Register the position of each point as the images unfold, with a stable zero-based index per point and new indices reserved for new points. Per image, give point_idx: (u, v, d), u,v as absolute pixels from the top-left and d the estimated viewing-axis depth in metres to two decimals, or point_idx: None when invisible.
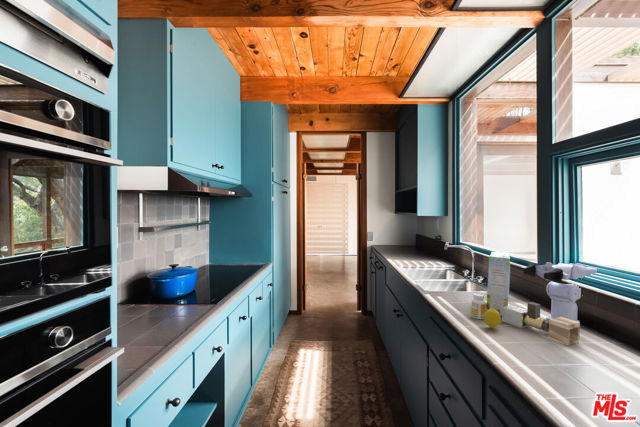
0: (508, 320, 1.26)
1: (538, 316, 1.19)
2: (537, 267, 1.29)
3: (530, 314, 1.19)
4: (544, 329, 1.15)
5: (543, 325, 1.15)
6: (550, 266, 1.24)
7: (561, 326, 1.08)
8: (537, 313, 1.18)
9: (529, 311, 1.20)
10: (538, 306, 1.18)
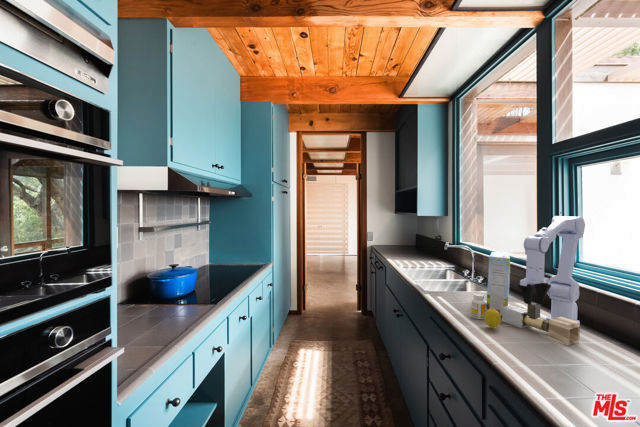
0: (508, 320, 1.26)
1: (538, 316, 1.19)
2: None
3: (530, 314, 1.19)
4: (544, 329, 1.15)
5: (543, 325, 1.15)
6: None
7: (561, 326, 1.08)
8: (537, 313, 1.18)
9: (529, 311, 1.20)
10: (538, 306, 1.18)
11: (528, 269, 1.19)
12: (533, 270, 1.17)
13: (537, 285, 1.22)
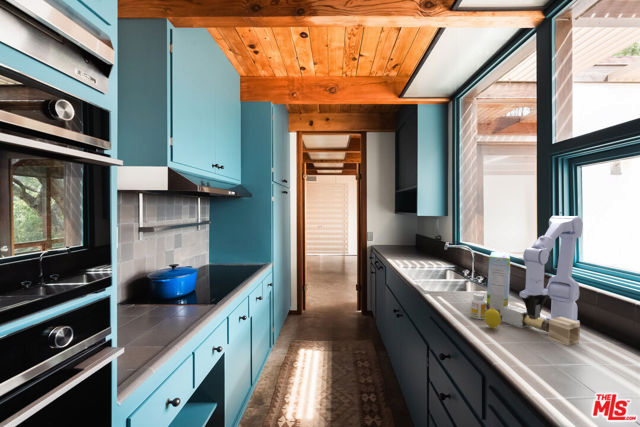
0: (508, 320, 1.26)
1: (538, 316, 1.19)
2: None
3: None
4: (544, 329, 1.15)
5: (543, 325, 1.15)
6: None
7: (561, 326, 1.08)
8: (537, 313, 1.18)
9: None
10: (538, 306, 1.18)
11: (528, 281, 1.19)
12: (533, 282, 1.18)
13: (533, 297, 1.21)
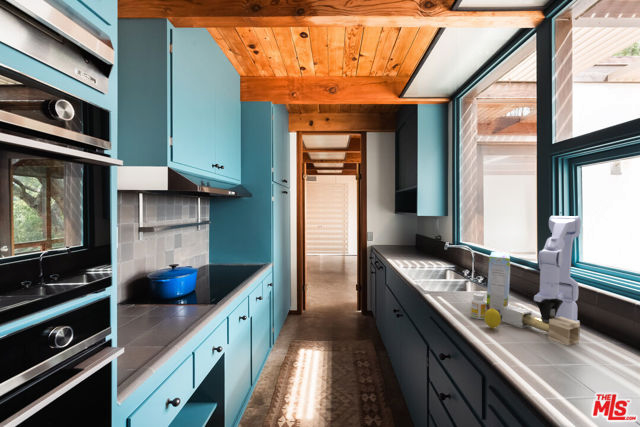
0: (508, 320, 1.26)
1: None
2: None
3: None
4: None
5: None
6: None
7: (561, 326, 1.08)
8: (552, 317, 1.14)
9: None
10: (553, 310, 1.14)
11: (542, 284, 1.14)
12: (547, 285, 1.13)
13: (548, 301, 1.17)
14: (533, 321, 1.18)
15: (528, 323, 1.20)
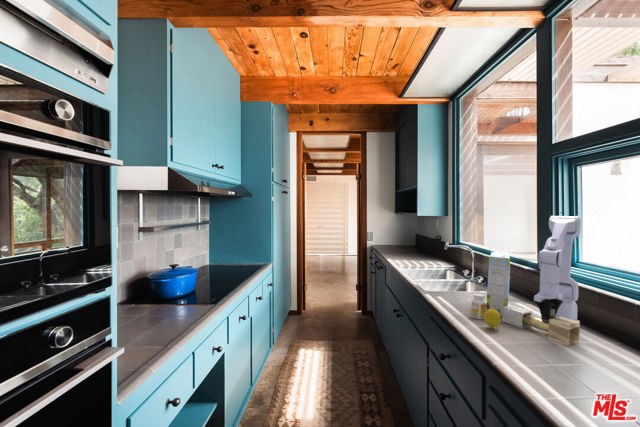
0: (508, 320, 1.26)
1: None
2: None
3: None
4: None
5: None
6: None
7: (561, 326, 1.08)
8: (552, 317, 1.14)
9: None
10: (553, 310, 1.14)
11: (542, 284, 1.14)
12: (547, 285, 1.13)
13: (548, 301, 1.17)
14: (533, 321, 1.18)
15: (528, 323, 1.20)
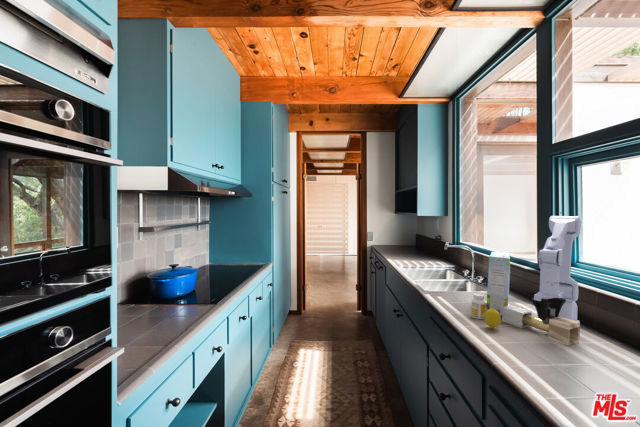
0: (508, 320, 1.26)
1: None
2: None
3: None
4: None
5: None
6: None
7: (561, 326, 1.08)
8: (552, 317, 1.14)
9: None
10: (553, 310, 1.14)
11: (542, 283, 1.14)
12: (547, 284, 1.13)
13: (551, 299, 1.17)
14: (533, 321, 1.18)
15: (528, 323, 1.20)
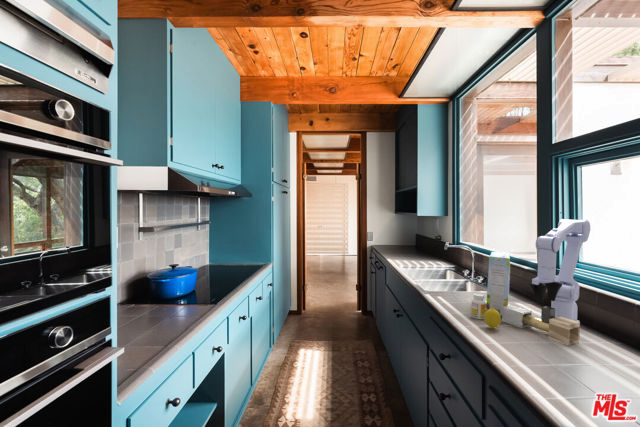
0: (508, 320, 1.26)
1: None
2: None
3: (544, 318, 1.15)
4: None
5: None
6: None
7: (561, 326, 1.08)
8: (552, 317, 1.14)
9: (543, 315, 1.15)
10: (553, 310, 1.14)
11: (540, 268, 1.21)
12: (545, 269, 1.20)
13: (548, 284, 1.24)
14: (533, 321, 1.18)
15: (528, 323, 1.20)
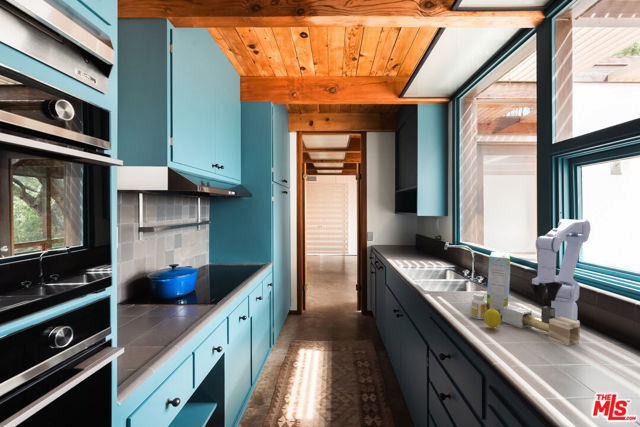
0: (508, 320, 1.26)
1: None
2: None
3: (544, 318, 1.15)
4: None
5: None
6: None
7: (561, 326, 1.08)
8: (552, 317, 1.14)
9: (543, 315, 1.15)
10: (553, 310, 1.14)
11: (540, 268, 1.21)
12: (545, 269, 1.20)
13: (548, 284, 1.24)
14: (533, 321, 1.18)
15: (528, 323, 1.20)
